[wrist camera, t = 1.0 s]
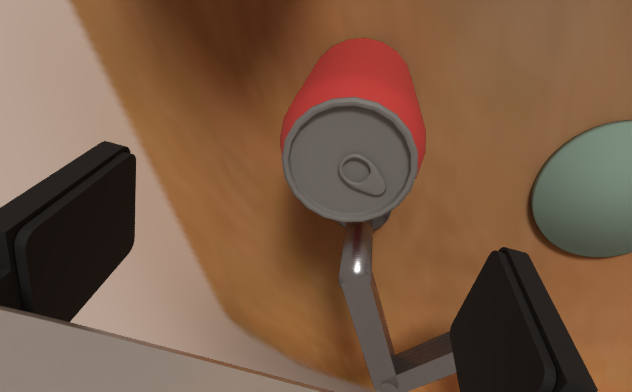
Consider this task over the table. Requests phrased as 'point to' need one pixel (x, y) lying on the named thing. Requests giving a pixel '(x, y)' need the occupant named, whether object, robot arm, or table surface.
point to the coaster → (588, 193)
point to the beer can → (354, 133)
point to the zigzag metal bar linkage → (384, 321)
